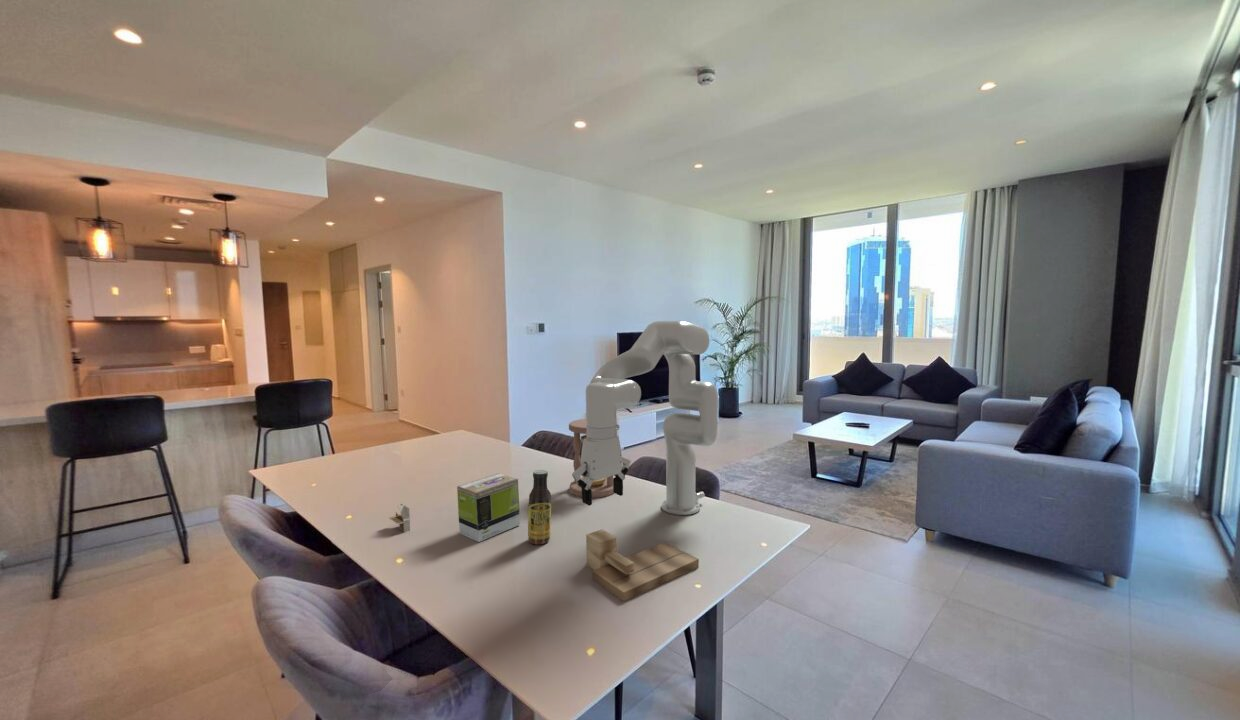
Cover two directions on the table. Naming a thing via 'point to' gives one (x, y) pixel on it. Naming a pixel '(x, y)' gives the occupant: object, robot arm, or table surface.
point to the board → (646, 571)
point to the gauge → (605, 552)
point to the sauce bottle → (539, 509)
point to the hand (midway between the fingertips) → (603, 498)
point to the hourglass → (598, 486)
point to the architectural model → (402, 518)
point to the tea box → (488, 506)
